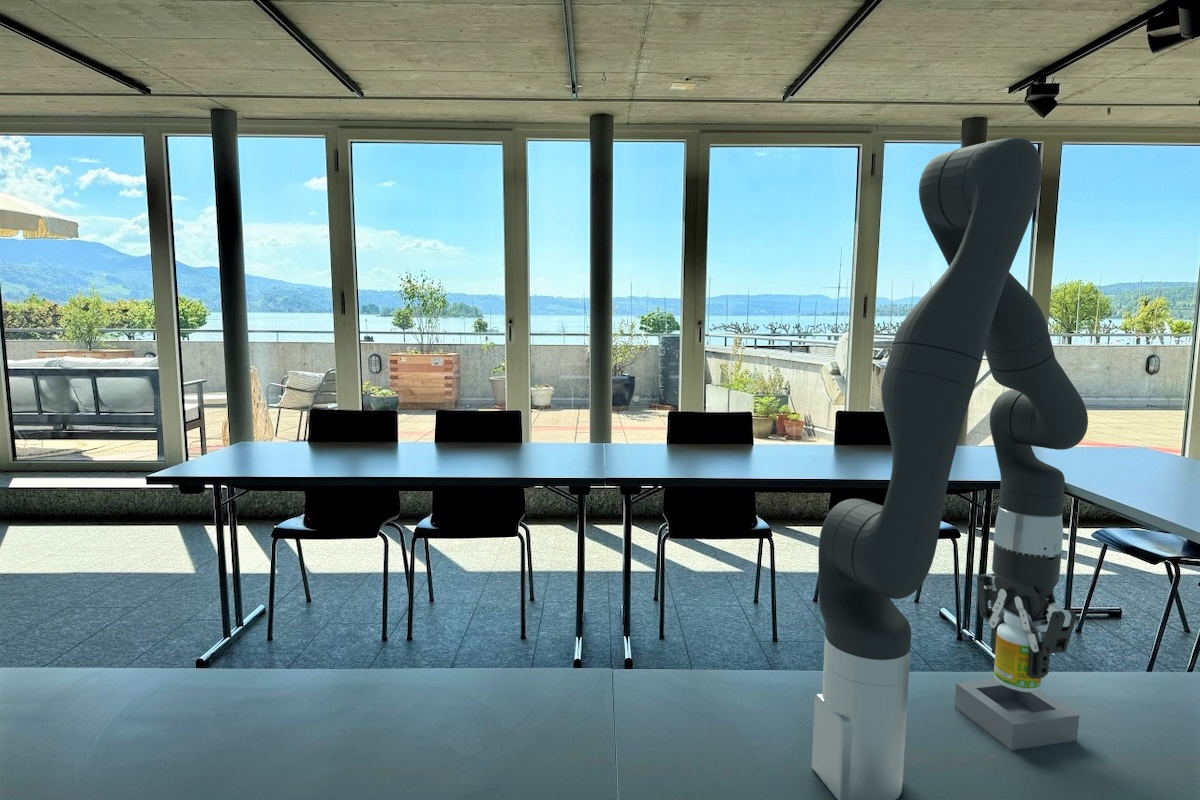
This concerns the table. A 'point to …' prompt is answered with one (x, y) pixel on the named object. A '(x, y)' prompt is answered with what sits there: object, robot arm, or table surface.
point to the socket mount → (1016, 714)
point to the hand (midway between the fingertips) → (1017, 664)
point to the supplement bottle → (1014, 655)
